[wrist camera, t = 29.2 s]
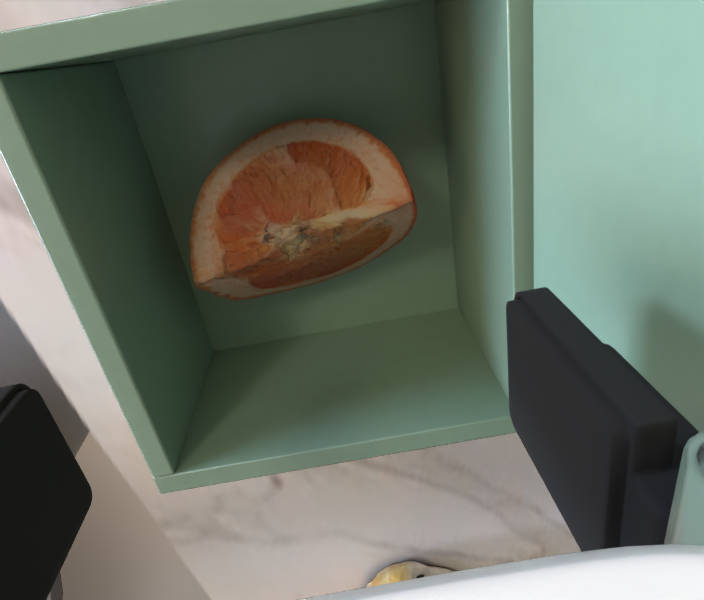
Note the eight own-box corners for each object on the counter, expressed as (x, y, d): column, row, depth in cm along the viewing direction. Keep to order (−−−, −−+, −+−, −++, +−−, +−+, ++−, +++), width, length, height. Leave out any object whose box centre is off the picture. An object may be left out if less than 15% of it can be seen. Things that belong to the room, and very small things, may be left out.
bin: (206, 358, 26) (160, 494, 18) (93, 40, 19) (-55, 41, 12) (470, 311, 26) (538, 429, 18) (448, -26, 19) (540, -70, 11)
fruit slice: (247, 297, 24) (232, 356, 19) (174, 160, 21) (136, 193, 16) (418, 233, 23) (443, 279, 19) (367, 81, 20) (382, 93, 16)
